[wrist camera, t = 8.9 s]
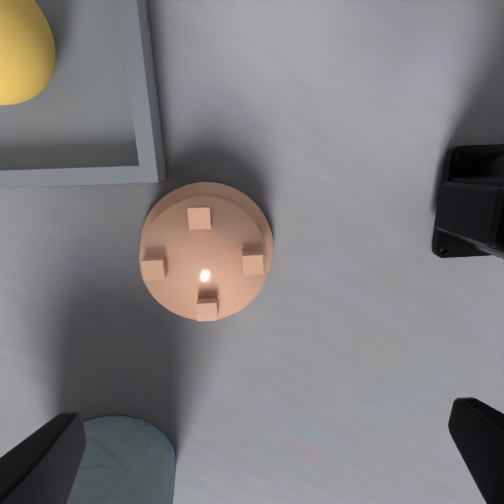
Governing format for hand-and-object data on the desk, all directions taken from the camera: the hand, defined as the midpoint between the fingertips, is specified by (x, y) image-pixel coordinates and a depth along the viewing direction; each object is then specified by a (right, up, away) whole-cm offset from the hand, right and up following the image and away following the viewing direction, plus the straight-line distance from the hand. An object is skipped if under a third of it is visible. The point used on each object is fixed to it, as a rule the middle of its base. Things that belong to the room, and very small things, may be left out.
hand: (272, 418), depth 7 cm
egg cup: (-3, +4, +11) cm, 12 cm away
